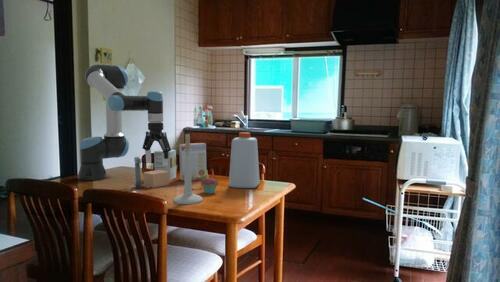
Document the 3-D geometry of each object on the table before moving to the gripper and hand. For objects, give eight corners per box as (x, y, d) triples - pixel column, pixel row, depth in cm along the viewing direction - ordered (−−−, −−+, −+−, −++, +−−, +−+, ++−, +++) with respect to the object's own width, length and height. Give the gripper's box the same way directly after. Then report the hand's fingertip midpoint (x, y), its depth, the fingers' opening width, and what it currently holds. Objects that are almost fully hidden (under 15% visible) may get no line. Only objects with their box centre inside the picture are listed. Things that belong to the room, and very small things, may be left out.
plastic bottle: (233, 181, 205) (233, 131, 202) (260, 183, 202) (261, 131, 199) (227, 187, 190) (227, 133, 187) (256, 189, 187) (256, 134, 185)
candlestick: (200, 196, 172) (199, 132, 170) (204, 203, 160) (204, 134, 157) (172, 198, 169) (171, 132, 166) (174, 205, 157) (173, 134, 154)
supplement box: (169, 182, 204) (169, 151, 202) (154, 181, 205) (153, 151, 204) (176, 178, 213) (176, 149, 211) (161, 177, 215) (161, 149, 213)
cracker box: (203, 178, 214) (203, 142, 212) (206, 180, 208) (206, 143, 206) (179, 180, 208) (179, 143, 206) (182, 182, 202) (181, 144, 200)
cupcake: (210, 195, 174) (210, 170, 173) (196, 192, 179) (196, 168, 178) (221, 191, 182) (221, 167, 180) (207, 189, 186) (207, 165, 185)
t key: (136, 190, 177) (136, 159, 176) (134, 186, 186) (133, 156, 185) (141, 190, 178) (141, 159, 177) (139, 186, 187) (138, 156, 186)
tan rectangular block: (140, 186, 187) (140, 172, 187) (160, 182, 196) (159, 169, 196) (150, 188, 182) (149, 174, 182) (169, 184, 191) (169, 171, 191)
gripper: (134, 122, 192) (136, 162, 194) (165, 123, 176) (166, 167, 178) (147, 121, 198) (148, 161, 199) (177, 122, 182) (178, 165, 184)
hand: (156, 164), depth 189 cm, fingers open, 13 cm apart
